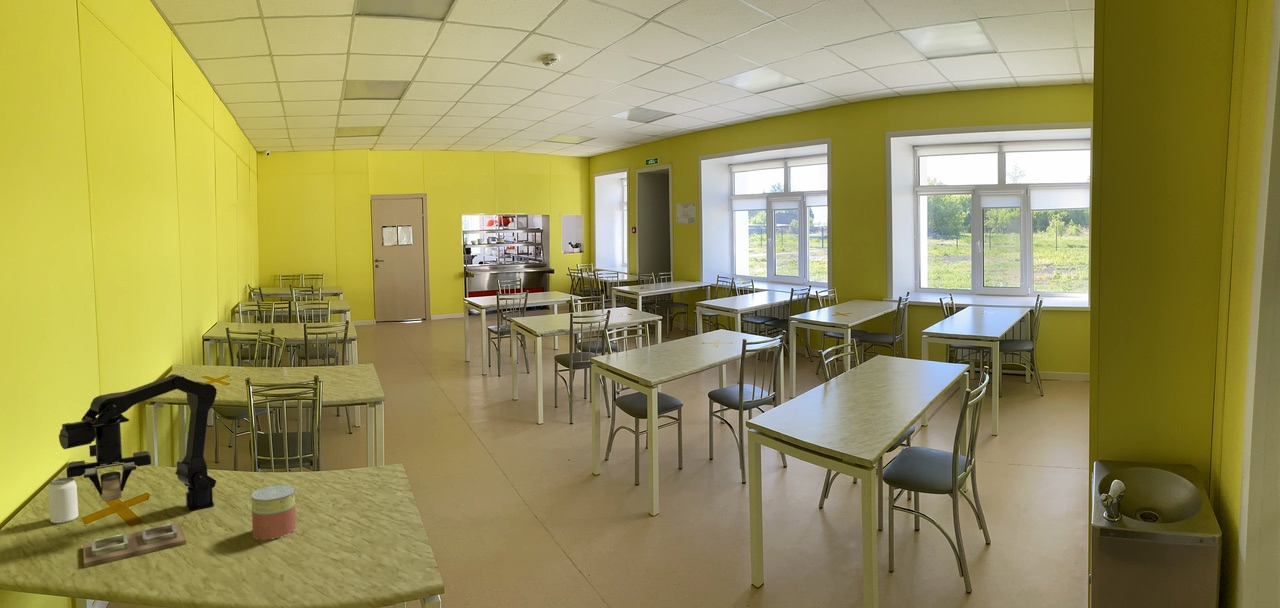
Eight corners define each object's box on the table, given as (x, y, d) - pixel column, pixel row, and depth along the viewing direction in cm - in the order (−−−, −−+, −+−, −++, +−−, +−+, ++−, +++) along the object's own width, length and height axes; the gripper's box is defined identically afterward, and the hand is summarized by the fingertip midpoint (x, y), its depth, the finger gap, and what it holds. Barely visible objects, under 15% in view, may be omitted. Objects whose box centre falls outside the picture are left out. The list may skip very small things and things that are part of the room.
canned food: (304, 528, 199) (303, 489, 198) (269, 543, 189) (268, 502, 188) (279, 520, 204) (277, 482, 203) (243, 535, 194) (242, 495, 193)
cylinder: (121, 493, 195) (120, 470, 194) (122, 498, 192) (120, 475, 191) (101, 497, 192) (100, 473, 191) (102, 502, 189) (100, 478, 188)
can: (62, 525, 197) (59, 485, 196) (44, 522, 198) (41, 483, 197) (84, 516, 203) (81, 478, 202) (67, 513, 205) (64, 476, 204)
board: (179, 526, 198) (179, 517, 198) (186, 543, 188) (185, 534, 187) (83, 547, 184) (82, 538, 184) (84, 567, 173) (83, 557, 173)
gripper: (146, 427, 202) (149, 477, 204) (65, 438, 190) (68, 491, 192) (149, 436, 194) (152, 488, 195) (65, 448, 182) (68, 504, 183)
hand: (111, 492), depth 192 cm, fingers closed on cylinder, 4 cm apart
